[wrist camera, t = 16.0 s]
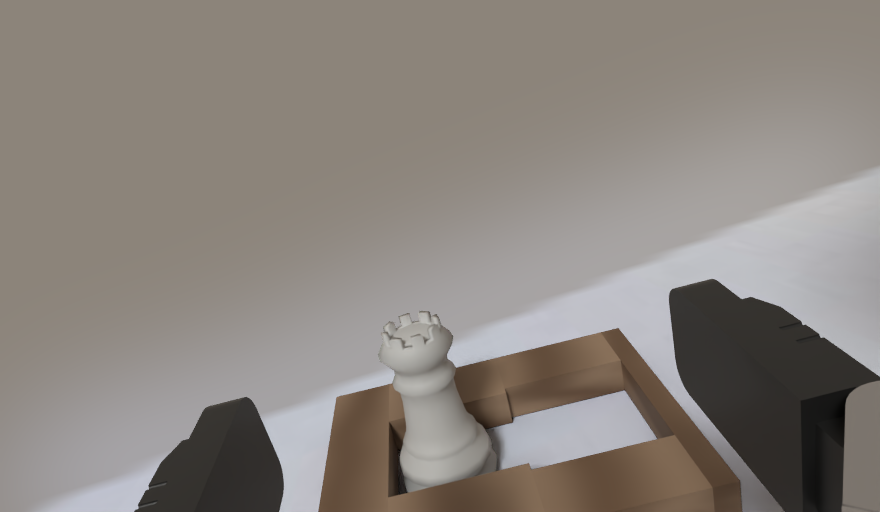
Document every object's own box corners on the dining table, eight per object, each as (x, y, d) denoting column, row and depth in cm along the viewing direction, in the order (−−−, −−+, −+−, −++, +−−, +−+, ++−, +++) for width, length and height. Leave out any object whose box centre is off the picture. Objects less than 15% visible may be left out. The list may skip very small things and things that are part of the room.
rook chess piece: (446, 433, 30) (408, 295, 27) (518, 459, 27) (483, 307, 24) (386, 491, 27) (336, 343, 24) (459, 528, 24) (412, 364, 21)
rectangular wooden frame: (622, 355, 33) (618, 328, 32) (742, 518, 21) (739, 480, 21) (345, 423, 33) (336, 397, 32) (321, 620, 22) (306, 585, 21)
